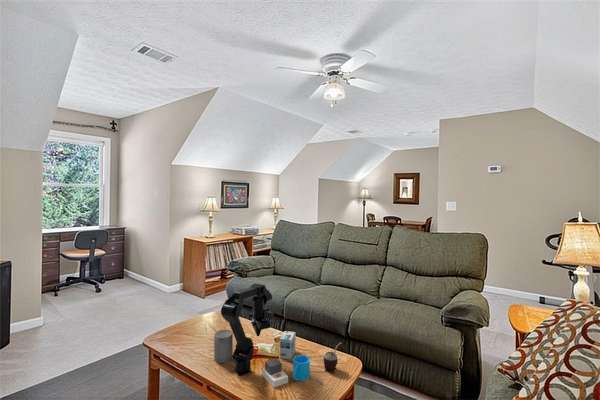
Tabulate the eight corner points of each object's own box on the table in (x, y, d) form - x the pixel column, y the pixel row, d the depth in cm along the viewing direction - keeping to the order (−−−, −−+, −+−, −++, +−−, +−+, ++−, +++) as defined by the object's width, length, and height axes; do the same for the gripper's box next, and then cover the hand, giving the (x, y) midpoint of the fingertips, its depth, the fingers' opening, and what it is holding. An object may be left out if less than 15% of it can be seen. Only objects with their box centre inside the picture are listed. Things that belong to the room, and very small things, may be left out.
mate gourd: (321, 367, 161) (321, 338, 161) (334, 364, 165) (334, 336, 165) (328, 375, 155) (328, 345, 154) (341, 372, 158) (342, 342, 158)
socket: (273, 387, 144) (273, 379, 144) (262, 375, 154) (262, 367, 154) (288, 382, 148) (288, 375, 148) (275, 370, 158) (275, 363, 158)
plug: (270, 380, 149) (270, 366, 149) (264, 374, 154) (264, 361, 153) (281, 376, 152) (281, 363, 152) (275, 371, 157) (276, 358, 157)
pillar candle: (223, 352, 176) (223, 325, 176) (236, 357, 171) (236, 329, 171) (210, 360, 168) (210, 332, 167) (223, 365, 163) (223, 336, 162)
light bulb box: (291, 360, 169) (291, 340, 169) (279, 358, 170) (279, 338, 170) (295, 350, 179) (295, 331, 179) (284, 349, 181) (284, 330, 181)
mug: (297, 369, 160) (298, 353, 160) (312, 374, 156) (312, 357, 156) (286, 381, 149) (286, 364, 149) (301, 386, 145) (301, 369, 145)
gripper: (279, 310, 166) (279, 339, 166) (264, 299, 182) (264, 326, 182) (260, 314, 160) (260, 344, 160) (246, 303, 176) (246, 330, 176)
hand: (258, 336), depth 170 cm, fingers closed
